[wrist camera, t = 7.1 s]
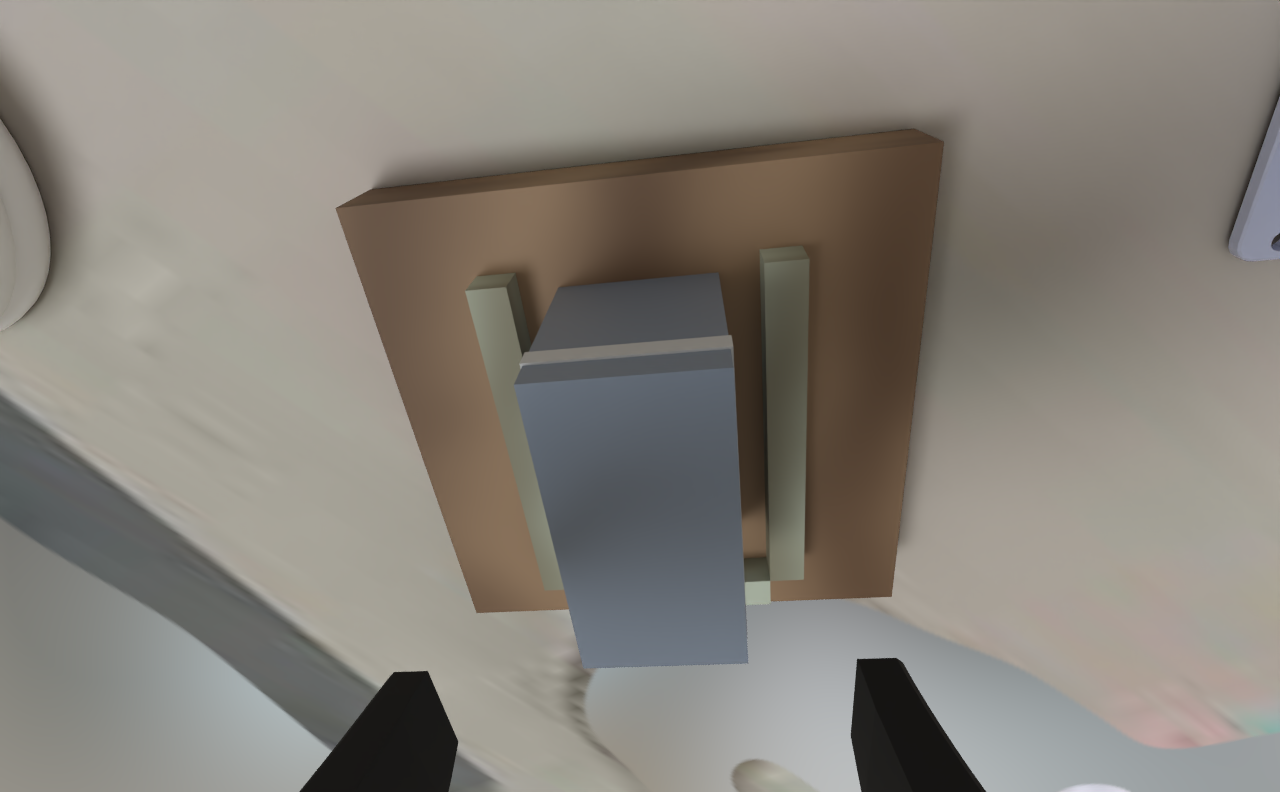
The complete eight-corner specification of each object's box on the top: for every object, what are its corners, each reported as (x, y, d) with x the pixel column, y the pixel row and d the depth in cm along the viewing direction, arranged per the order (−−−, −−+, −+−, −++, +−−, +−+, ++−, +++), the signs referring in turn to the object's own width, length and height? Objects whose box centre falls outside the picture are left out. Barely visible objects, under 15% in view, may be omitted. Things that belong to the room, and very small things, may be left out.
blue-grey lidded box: (720, 270, 16) (736, 364, 11) (734, 523, 20) (750, 664, 15) (556, 285, 16) (510, 382, 12) (603, 530, 20) (581, 669, 16)
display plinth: (914, 128, 16) (961, 149, 13) (875, 552, 22) (900, 621, 20) (370, 189, 17) (314, 219, 14) (491, 570, 24) (468, 636, 21)
